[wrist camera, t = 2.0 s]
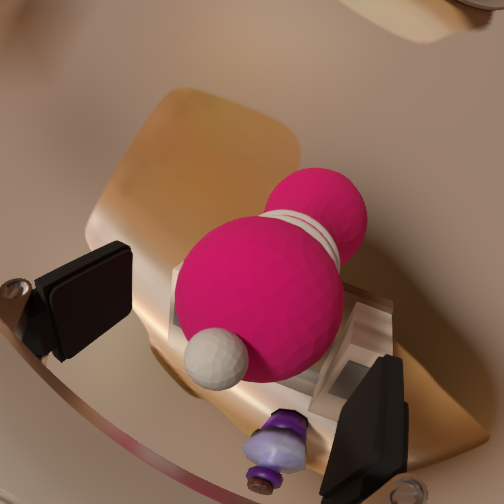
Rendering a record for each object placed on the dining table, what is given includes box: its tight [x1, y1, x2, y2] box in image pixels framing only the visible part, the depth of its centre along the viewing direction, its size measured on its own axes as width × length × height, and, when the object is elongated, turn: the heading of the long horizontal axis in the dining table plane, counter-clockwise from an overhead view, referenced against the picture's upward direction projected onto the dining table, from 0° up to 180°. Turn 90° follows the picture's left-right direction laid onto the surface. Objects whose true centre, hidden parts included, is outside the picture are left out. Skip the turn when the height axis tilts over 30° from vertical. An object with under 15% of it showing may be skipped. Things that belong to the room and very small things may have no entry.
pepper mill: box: [175, 168, 367, 391], centre depth 15 cm, size 7×7×20 cm
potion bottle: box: [242, 409, 308, 495], centre depth 30 cm, size 9×9×12 cm
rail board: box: [168, 261, 394, 422], centre depth 26 cm, size 12×18×8 cm, turn 77°
